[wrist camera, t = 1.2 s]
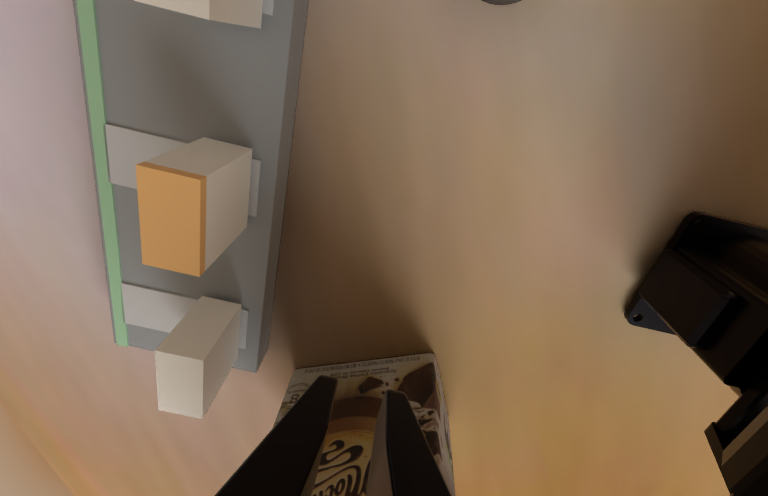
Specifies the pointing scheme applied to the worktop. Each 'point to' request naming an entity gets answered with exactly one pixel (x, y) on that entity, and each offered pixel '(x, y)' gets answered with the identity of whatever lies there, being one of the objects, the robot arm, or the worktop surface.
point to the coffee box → (373, 416)
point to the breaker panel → (182, 126)
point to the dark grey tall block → (501, 2)
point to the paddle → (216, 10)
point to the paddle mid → (192, 204)
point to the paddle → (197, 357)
